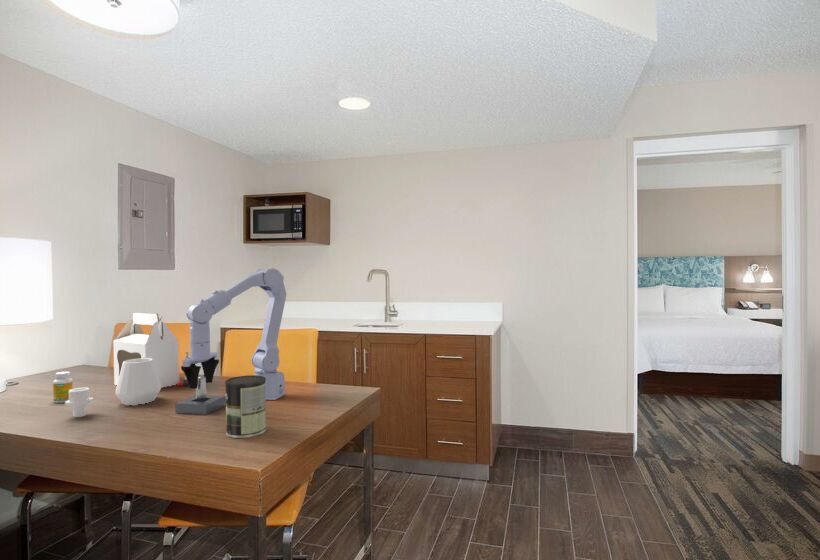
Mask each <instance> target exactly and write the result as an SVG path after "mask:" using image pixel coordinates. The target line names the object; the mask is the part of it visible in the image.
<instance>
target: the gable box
mask: <svg viewBox="0 0 820 560" xmlns="http://www.w3.org/2000/svg"><path fill="white" fill-rule="evenodd" d="M162 318H163V316H161V315H159V314H158V313H153V312H151V313H150V312H133V313H132V319H130V320H128V321H127V322H126V324H125V325H124V327H123V328H122V329H121V330H120V331H119V333H118V335H117V336H116V337H115V338H114V340H113V343H112V345H113V383H114V386H116V385H117V383H118V379H119V375H120V371H121V368H122V364H123V362H124V361H126V360H131V359H140V358H150V359H152V360H153V362H154V366H155V369H156V372H157V375H158V379H159V382H160V385H161V389H164V388H163V387H165V388H168V387H167V386H169V387H173V386H172V385H174V386H177V385H176V384H178V382H180V356H179V355H180V353H179V352H180V351H179V349H180V348H179V346H180V345H179V344H180V343H179V339H178V338H177V337H176V336H175V335H174V333H173V332H172V331H171V329H170V328H169V327H168V326H167V324H166V323H165V322H164V321H162ZM141 325H144V326H152V328H151V330H150V332H149V334H145V332H144V330H143V328H142V327H141Z"/></svg>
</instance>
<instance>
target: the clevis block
mask: <svg viewBox="0 0 820 560" xmlns="http://www.w3.org/2000/svg"><path fill="white" fill-rule="evenodd" d="M174 405H175V406H174V407H175V409H174V411H175V414H182V413H192V414H191V415H203V414H207V415H208V413H209V414H211V413H213V412H215V411H217V410H219V409H222V408H224V407H226V406H225V405H226V395H211V394H206V401H204V402H197V401H196V394H195V395H193V396H191V397H188V398H186V399H182V400H181V401H178V402H176V403H174ZM223 406H224V407H223ZM214 410H215V411H214ZM212 411H213V412H212ZM210 412H211V413H210Z"/></svg>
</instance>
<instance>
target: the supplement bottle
mask: <svg viewBox="0 0 820 560" xmlns="http://www.w3.org/2000/svg"><path fill="white" fill-rule="evenodd" d="M70 376H71V372H70V371H58V372H56V373H55V378H56V379H54V380H53V384H52V388H53V389H52V391H53V393H52V394H53V398H52V399H53V403H55V404H60V403H61V404H62V403H65V402H66V401H68V400H69V390H71V389H74V386H73V385H74V383H73V382H74V381H73V380H74V379H73V378H71V377H70Z"/></svg>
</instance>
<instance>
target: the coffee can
mask: <svg viewBox="0 0 820 560" xmlns="http://www.w3.org/2000/svg"><path fill="white" fill-rule="evenodd" d="M265 381H266V378H265V377H263V376H256V375H255V374H254V375H252V374H250V375H240V376H235V377H231V378H228V379H226V380H224V385H225V386H224V387H225V396H226V406H225V423H226V424H225V429H226V430H225V431H226V432H225V435H226V436H227V437H229V438H233V439H247V438H248V439H249V438H253V437H257V436H261V435H262V434H264V433H265V432H266V431H267V424H266V423H267V420H266V418H267V417H266V416H267V413H266V408H267V407H266V400H265Z"/></svg>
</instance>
